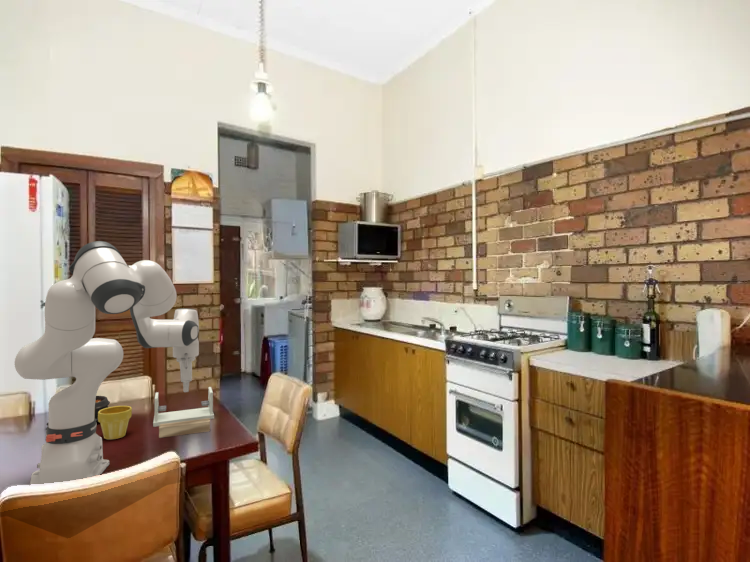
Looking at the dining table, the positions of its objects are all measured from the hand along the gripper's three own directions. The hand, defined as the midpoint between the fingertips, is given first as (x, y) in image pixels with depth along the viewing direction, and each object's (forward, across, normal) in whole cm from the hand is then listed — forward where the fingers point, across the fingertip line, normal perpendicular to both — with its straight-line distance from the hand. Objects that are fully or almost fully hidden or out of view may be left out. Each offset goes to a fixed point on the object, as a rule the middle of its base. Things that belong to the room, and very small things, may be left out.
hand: (185, 388), depth 152 cm
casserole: (+17, +31, +36) cm, 51 cm away
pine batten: (+17, 0, 0) cm, 17 cm away
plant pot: (+17, +7, +23) cm, 29 cm away
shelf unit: (+17, +18, 0) cm, 24 cm away
